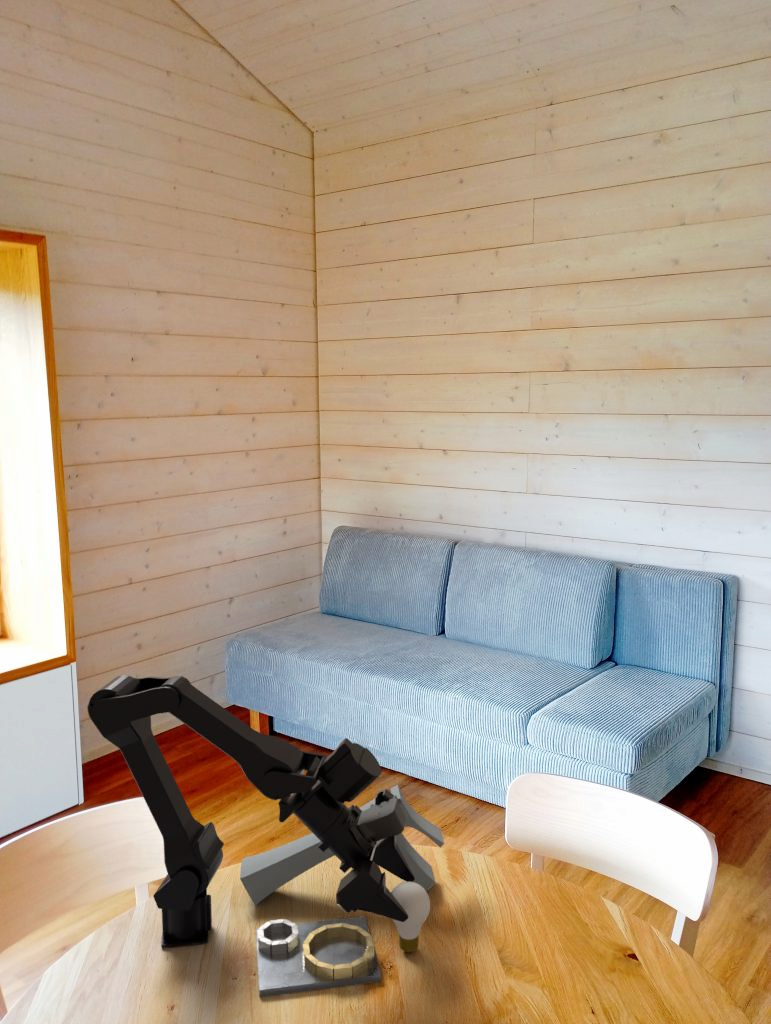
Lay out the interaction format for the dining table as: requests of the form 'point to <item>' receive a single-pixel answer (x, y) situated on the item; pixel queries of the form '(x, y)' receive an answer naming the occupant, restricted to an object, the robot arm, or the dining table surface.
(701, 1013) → the dining table surface
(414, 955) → the dining table surface
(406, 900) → the light bulb
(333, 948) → the plate
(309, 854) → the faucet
